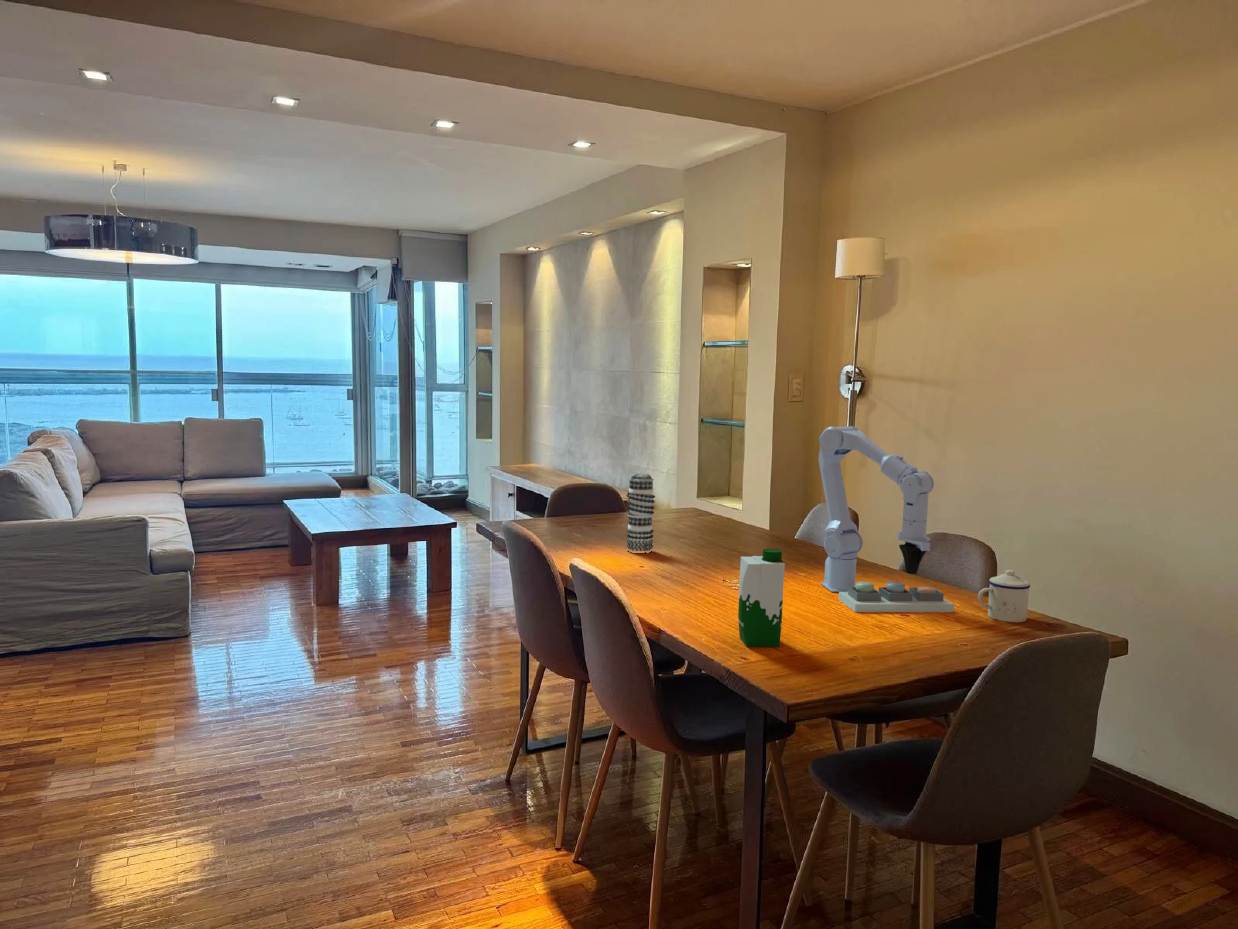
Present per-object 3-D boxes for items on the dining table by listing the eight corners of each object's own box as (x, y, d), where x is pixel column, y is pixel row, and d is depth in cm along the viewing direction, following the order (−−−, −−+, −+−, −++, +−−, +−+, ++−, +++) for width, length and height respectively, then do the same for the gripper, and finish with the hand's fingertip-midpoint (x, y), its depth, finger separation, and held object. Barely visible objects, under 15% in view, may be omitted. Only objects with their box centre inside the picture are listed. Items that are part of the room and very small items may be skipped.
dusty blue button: (883, 590, 217) (884, 581, 217) (900, 590, 217) (900, 581, 217) (890, 594, 213) (890, 586, 213) (907, 594, 213) (908, 586, 213)
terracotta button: (913, 595, 218) (914, 586, 218) (930, 595, 218) (930, 586, 218) (921, 599, 214) (921, 591, 213) (938, 599, 214) (938, 591, 214)
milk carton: (785, 648, 179) (788, 554, 177) (742, 648, 179) (745, 554, 177) (774, 635, 188) (778, 546, 186) (733, 635, 187) (737, 546, 185)
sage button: (852, 590, 216) (853, 581, 216) (869, 590, 217) (870, 581, 217) (859, 594, 212) (859, 586, 212) (876, 594, 212) (876, 586, 212)
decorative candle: (621, 552, 273) (623, 475, 271) (629, 547, 282) (631, 472, 279) (649, 555, 271) (651, 476, 268) (656, 549, 279) (658, 473, 277)
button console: (838, 599, 220) (839, 584, 220) (932, 599, 222) (932, 584, 222) (854, 612, 209) (855, 596, 208) (953, 612, 211) (954, 596, 210)
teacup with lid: (1015, 612, 211) (1018, 566, 210) (1035, 623, 202) (1038, 575, 201) (968, 612, 210) (971, 566, 209) (986, 623, 201) (989, 574, 200)
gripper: (943, 525, 207) (939, 580, 208) (917, 515, 221) (914, 566, 223) (915, 525, 206) (912, 580, 208) (891, 515, 221) (888, 566, 222)
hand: (911, 573), depth 215 cm, fingers closed
